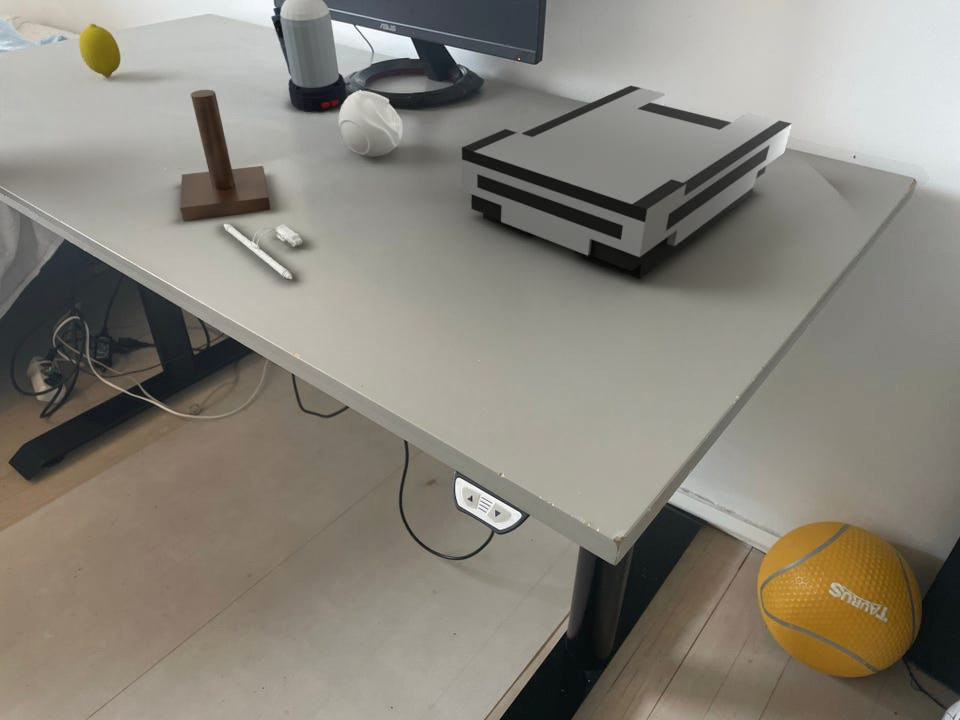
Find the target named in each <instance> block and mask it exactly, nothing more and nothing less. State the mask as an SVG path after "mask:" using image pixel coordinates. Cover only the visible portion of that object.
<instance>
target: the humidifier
mask: <svg viewBox="0 0 960 720" xmlns="http://www.w3.org/2000/svg"><path fill="white" fill-rule="evenodd" d="M327 5H328V4H326V2H324V0H284V1H283V3H282V6H281V12H280V15H281V25H282V30H283V36H284V41H285V46H286V51H287V57H288V62H289V67H290V72H291V76H290V78H289V80H288V92H289V98H290V103H291V105H292V107H293V108H295V109H296V110H300V111H302V112H307V113H321V112H322V113H323V112H328V111H332V110H334V109H338V108H341V107H342V105H343V103H344V101H345V100H346V99H347V97H348V95H347V88H346V87H347V86H346V81H345V79H344V76H343V74H341V73H340V71H339V65H338V60H337V59H338V58H337V51H336V45H335V38H334V37H335V36H334V30H333V24H332V16H331V12H330V9H329V7H328V6H327Z"/></svg>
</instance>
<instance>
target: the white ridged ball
mask: <svg viewBox="0 0 960 720" xmlns="http://www.w3.org/2000/svg"><path fill="white" fill-rule="evenodd" d="M338 129H339V133H340V136H341V139H342V140H343V142H344V144H346V146H347V147H348V148H349V149H350V150H351V151H353V152H354V153H356V154H359V155H361V156H364V157H373V158H374V157H375V158H377V157H381V156H382V157H383V156H385V155H387V154H389V153H390V152H392V151H393V150H395V149H396V148H397V147H398V145H399V142H401V139H402V137H403V121H402V119H401V117H400V115H399V114H398V112H397V111H396V110H395V108H394V107H393V105H391V104H390V99H389V98H388V97H385V96H383V95H381V94H378V93H376V92H372V91H367V90H356V91H355V92H353V93H351V94H350V95H347V99H346V100H345V101H344V103H343V105H341V106H340V110H339V113H338Z"/></svg>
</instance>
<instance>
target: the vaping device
mask: <svg viewBox="0 0 960 720" xmlns="http://www.w3.org/2000/svg"><path fill="white" fill-rule="evenodd" d="M281 8H282V6H276V7H274V8H272V9H273V14H274V15H271V16H270V18H271V21H272V24H273V27H274V30H275V33H276V36H277V39H278V42H279V45H280V49H281V51H282V54H283V57H284V60H285V64H286V67H287V70H288V74H289V76H290V77H291V72H290V67H289V62H288V57H287V51H286V46H285V41H284V36H283V30H282V25H281V15H280V12H281Z"/></svg>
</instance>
